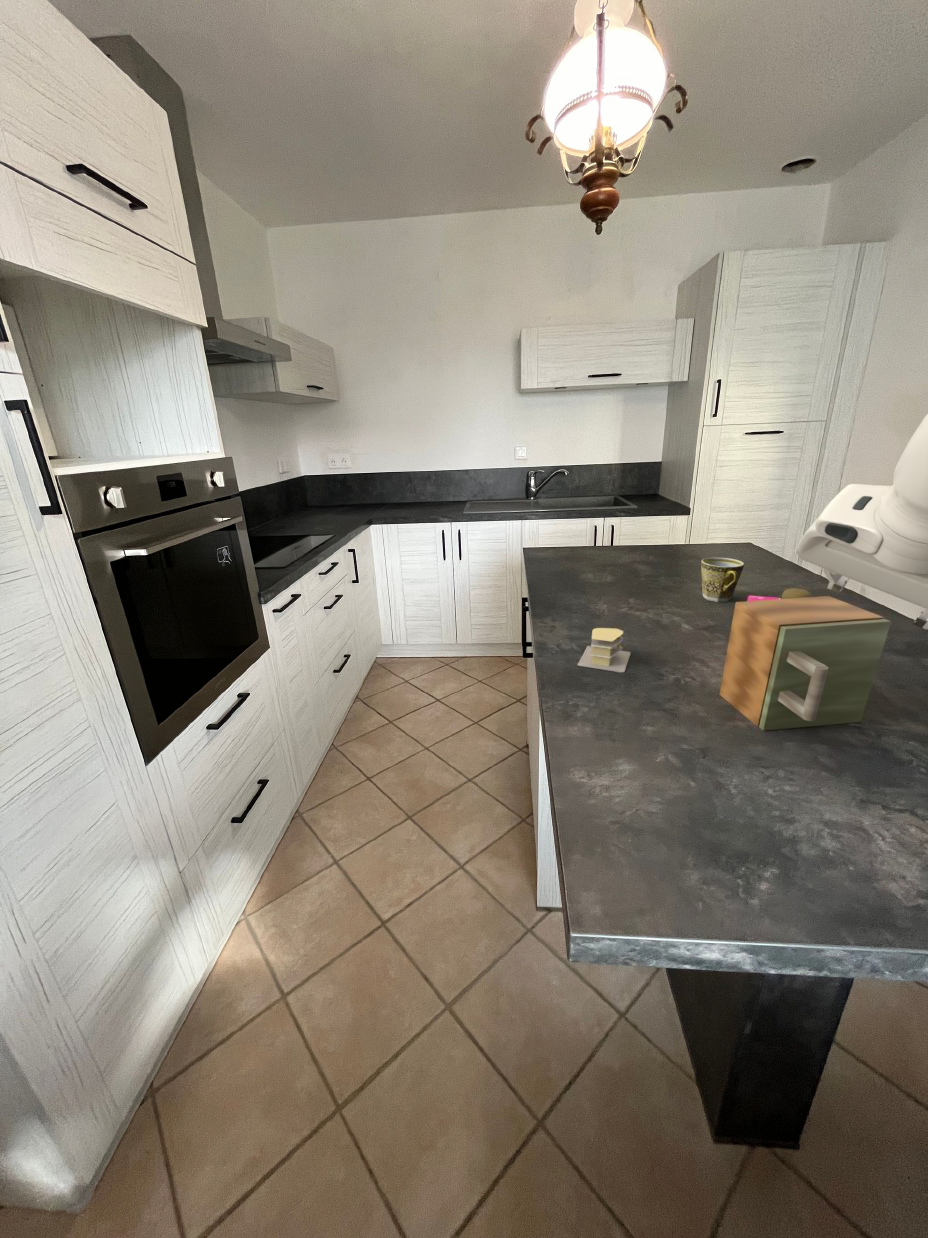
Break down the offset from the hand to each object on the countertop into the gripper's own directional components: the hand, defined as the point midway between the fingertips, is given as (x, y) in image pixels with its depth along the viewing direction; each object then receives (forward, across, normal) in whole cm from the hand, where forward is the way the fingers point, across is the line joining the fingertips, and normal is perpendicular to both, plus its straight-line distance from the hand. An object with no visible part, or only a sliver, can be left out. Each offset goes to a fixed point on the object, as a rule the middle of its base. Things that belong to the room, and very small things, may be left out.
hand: (877, 604), depth 61 cm
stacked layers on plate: (+27, +32, +17) cm, 46 cm away
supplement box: (+37, +14, -6) cm, 40 cm away
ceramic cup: (+58, +32, -25) cm, 71 cm away
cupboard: (+24, +3, +7) cm, 25 cm away
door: (+19, -4, +10) cm, 22 cm away
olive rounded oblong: (+44, +12, -16) cm, 48 cm away
